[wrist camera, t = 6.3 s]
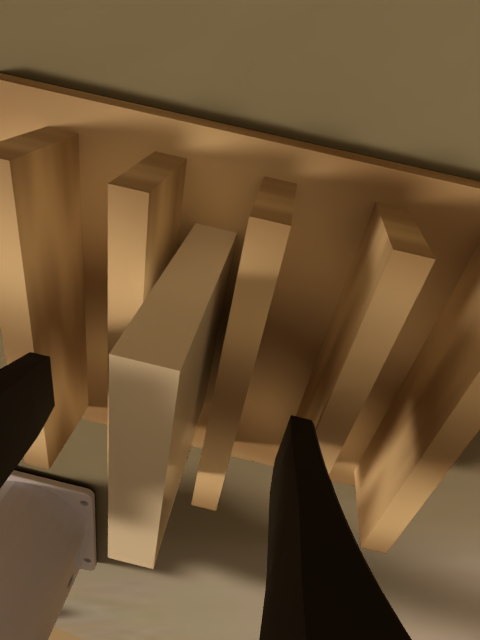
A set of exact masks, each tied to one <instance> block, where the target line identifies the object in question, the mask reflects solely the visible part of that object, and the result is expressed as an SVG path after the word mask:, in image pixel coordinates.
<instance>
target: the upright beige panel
mask: <svg viewBox="0 0 480 640" xmlns="http://www.w3.org/2000/svg"><path fill="white" fill-rule="evenodd" d="M236 237H237V233H235V232H231V231H227V230H222V229H218V228H214V227H210V226H205V225H201V224H197V223H195V225H194V227H193V228H192V230H191V231H190V233H189V234H188V236H187V237H186V239H185V240H184V242H183V243H182V245H181V246H180V248H179V249H178V251H177V252H176V254H175V255H174V257H173V258H172V260H171V261H170V263H169V264H168V266H167V267H166V269H165V270H164V272H163V273H162V275H161V276H160V278H159V279H158V281H157V282H156V284H155V285H154V287H153V288H152V290H151V291H150V293H149V294H148V296H147V297H146V299H145V300H144V302H143V303H142V305H141V306H140V308H139V310H138V311H137V313H136V314H135V316H134V317H133V319H132V320H131V322H130V323H129V325H128V326H127V328H126V329H125V331H124V332H123V334H122V335H121V337H120V338H119V340H118V341H117V343H116V344H115V346H114V347H113V349H112V350H111V352H110V353H109V450H108V558H111V559H115V560H119V561H123V562H127V563H131V564H135V565H139V566H143V567H147V568H151V569H153V568H154V565H155V562H156V559H157V555H158V552H159V549H160V546H161V543H162V539H163V536H164V533H165V530H166V526H167V523H168V520H169V517H170V513H171V510H172V507H173V504H174V500H175V497H176V494H177V491H178V488H179V484H180V481H181V478H182V475H183V471H184V468H185V465H186V462H187V458H188V455H189V452H190V449H191V445H192V442H193V439H194V436H195V433H196V429H197V426H198V423H199V420H200V416H201V413H202V410H203V407H204V403H205V399H206V393H207V388H208V383H209V378H210V372H211V367H212V362H213V357H214V352H215V346H216V341H217V336H218V331H219V325H220V320H221V315H222V310H223V305H224V299H225V294H226V289H227V284H228V278H229V273H230V268H231V263H232V258H233V252H234V247H235V242H236Z"/></svg>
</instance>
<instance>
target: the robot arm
mask: <svg viewBox="0 0 480 640" xmlns="http://www.w3.org/2000/svg"><path fill="white" fill-rule="evenodd" d="M54 406H55V401H54V391H53V381H52V371H51V361H50V357H49V356H45V355H41V354H37V353H33V352H29V353H27V354H25V355H24V356H22V357H20V358H18V359H17V360H15V361H13V362H12V363H10V364H8V365H7V366H5V367H3V368H1V369H0V640H48V638H49V636H50V634H51V632H52V629H53V627H54V625H55V623H56V620H57V618H58V616H59V614H60V612H61V609H62V607H63V605H64V603H65V600H66V598H67V596H68V594H69V591H70V589H71V587H72V585H73V583H74V580H75V578H76V576H77V574H78V571H79V569H80V568H81V569H85V570H89V571H92V570H94V569H95V567H96V564H97V561H96V528H95V495H94V493H93V492H92V491H91V490H90V489H87V488H84V487H80V486H76V485H72V484H68V483H64V482H60V481H56V480H52V479H48V478H44V477H40V476H36V475H32V474H28V473H24V472H20V471H16V470H14V469H15V468H16V466H17V465H18V464H19V462H20V461H21V460H22V458H23V457H24V455H25V454H26V453H27V451H28V450H29V448H30V447H31V446H32V444H33V443H34V441H35V440H36V439H37V437H38V436H39V434H40V432H41V430H42V429H43V427H44V425H45V423H46V422H47V420H48V418H49V416H50V414H51V412H52V410H53V408H54ZM259 640H412V639H411V638H410V636H409V635H408V633H407V632H406V630H405V629H404V627H403V625H402V624H401V622H400V620H399V619H398V617H397V615H396V614H395V612H394V610H393V609H392V607H391V605H390V604H389V602H388V600H387V599H386V597H385V595H384V594H383V592H382V590H381V588H380V587H379V585H378V583H377V581H376V579H375V578H374V576H373V574H372V572H371V570H370V568H369V566H368V565H367V563H366V561H365V559H364V557H363V555H362V553H361V551H360V549H359V547H358V545H357V542H356V540H355V538H354V536H353V534H352V532H351V530H350V527H349V525H348V523H347V520H346V518H345V516H344V513H343V511H342V509H341V506H340V504H339V501H338V499H337V496H336V493H335V491H334V488H333V485H332V482H331V480H330V477H329V474H328V471H327V468H326V465H325V462H324V459H323V455H322V452H321V449H320V445H319V442H318V438H317V434H316V430H315V425H314V423H313V421H312V420H309V419H305V418H301V417H297V416H293V415H291V416H290V419H289V422H288V425H287V427H286V430H285V433H284V436H283V438H282V441H281V444H280V447H279V449H278V452H277V455H276V458H275V462H274V469H273V475H272V482H271V489H270V503H269V529H268V557H267V578H266V591H265V599H264V607H263V615H262V624H261V631H260V639H259Z"/></svg>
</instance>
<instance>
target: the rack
mask: <svg viewBox="0 0 480 640" xmlns="http://www.w3.org/2000/svg"><path fill="white" fill-rule="evenodd" d="M195 223H197V224H201V225H205V226H210V227H214V228H218V229H222V230H227V231H231V232H235V233H237V237H236V242H235V247H234V252H233V258H232V263H231V268H230V273H229V278H228V284H227V289H226V294H225V299H224V305H223V310H222V315H221V320H220V325H219V331H218V336H217V341H216V346H215V352H214V357H213V362H212V367H211V372H210V378H209V383H208V388H207V393H206V399H205V403H204V407H203V410H202V413H201V416H200V420H199V423H198V426H197V429H196V433H195V436H194V439H193V442H192V445H191V446H194V447H198V448H202V453H201V458H200V463H199V468H198V473H197V478H196V483H195V488H194V493H193V498H192V503H191V505H194V506H198V507H202V508H206V509H210V510H214V511H216V509H217V505H218V501H219V497H220V494H221V490H222V486H223V482H224V478H225V475H226V471H227V467H228V463H229V460H230V456H235V457H239V458H243V459H247V460H251V461H255V462H259V463H263V464H267V465H271V466H274V462H275V458H276V455H277V452H278V449H279V447H280V444H281V441H282V438H283V436H284V433H285V430H286V427H287V425H288V422H289V419H290V416H291V415H293V416H297V417H301V418H305V419H309V420H312V421H313V423H314V425H315V430H316V434H317V438H318V442H319V445H320V449H321V452H322V455H323V459H324V462H325V465H326V468H327V471H328V474H329V477H330V480H332V481H336V482H341V483H345V484H349V485H353V486H355V487H356V499H357V510H358V521H359V533H360V544H361V547H363V548H367V549H371V550H375V551H379V552H383V553H387V551H388V550H389V549H390V547H391V546H392V545H393V543H394V542H395V541H396V539H397V538H398V537H399V535H400V534H401V533H402V531H403V530H404V529H405V527H406V526H407V525H408V523H409V522H410V521H411V520H412V518H413V517H414V516H415V514H416V513H417V512H418V510H419V509H420V508H421V506H422V505H423V504H424V502H425V501H426V500H427V498H428V497H429V496H430V494H431V493H432V492H433V490H434V489H435V488H436V487H437V485H438V484H439V483H440V481H441V480H442V479H443V477H444V476H445V475H446V473H447V472H448V471H449V469H450V468H451V467H452V465H453V464H454V463H455V461H456V460H457V459H458V457H459V456H460V455H461V453H462V452H463V451H464V450H465V448H466V447H467V446H468V444H469V443H470V442H471V440H472V439H473V438H474V436H475V435H476V434H477V432H478V431H479V430H480V181H475V180H471V179H466V178H462V177H458V176H453V175H449V174H444V173H440V172H436V171H431V170H427V169H422V168H418V167H413V166H409V165H405V164H400V163H396V162H391V161H387V160H383V159H378V158H374V157H369V156H365V155H360V154H356V153H352V152H347V151H343V150H338V149H334V148H330V147H325V146H321V145H316V144H312V143H308V142H303V141H299V140H294V139H290V138H285V137H281V136H277V135H272V134H268V133H263V132H259V131H255V130H250V129H246V128H241V127H237V126H232V125H228V124H224V123H219V122H215V121H210V120H206V119H202V118H197V117H193V116H188V115H184V114H180V113H175V112H171V111H166V110H162V109H157V108H153V107H149V106H144V105H140V104H135V103H131V102H127V101H122V100H118V99H113V98H109V97H104V96H100V95H96V94H91V93H87V92H82V91H78V90H74V89H69V88H65V87H60V86H56V85H52V84H47V83H43V82H38V81H34V80H29V79H25V78H21V77H16V76H12V75H7V74H3V73H0V328H1V334H2V339H3V345H4V350H5V356H6V361H7V365H8V364H10V363H12V362H13V361H15V360H17V359H18V358H20V357H22V356H24V355H25V354H27V353H29V352H33V353H37V354H41V355H45V356H49V357H50V361H51V371H52V381H53V391H54V401H55V406H54V408H53V410H52V412H51V414H50V416H49V418H48V420H47V422H46V423H45V425H44V427H43V429H42V430H41V432H40V434H39V436H38V437H37V439H36V440H35V441H34V443H33V444H32V446H31V447H30V448H29V450H28V451H27V453H26V454H25V455H24V461H25V464H29V465H33V466H37V467H41V468H45V469H50V467H51V466H52V464H53V462H54V461H55V459H56V458H57V456H58V454H59V453H60V451H61V450H62V448H63V446H64V445H65V443H66V442H67V440H68V438H69V437H70V435H71V434H72V432H73V430H74V429H75V427H76V426H77V424H78V422H79V421H80V419H84V420H88V421H92V422H96V423H100V424H104V425H108V450H109V353H110V352H111V350H112V349H113V347H114V346H115V344H116V343H117V341H118V340H119V338H120V337H121V335H122V334H123V332H124V331H125V329H126V328H127V326H128V325H129V323H130V322H131V320H132V319H133V317H134V316H135V314H136V313H137V311H138V310H139V308H140V306H141V305H142V303H143V302H144V300H145V299H146V297H147V296H148V294H149V293H150V291H151V290H152V288H153V287H154V285H155V284H156V282H157V281H158V279H159V278H160V276H161V275H162V273H163V272H164V270H165V269H166V267H167V266H168V264H169V263H170V261H171V260H172V258H173V257H174V255H175V254H176V252H177V251H178V249H179V248H180V246H181V245H182V243H183V242H184V240H185V239H186V237H187V236H188V234H189V233H190V231H191V230H192V228H193V227H194V225H195Z"/></svg>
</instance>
